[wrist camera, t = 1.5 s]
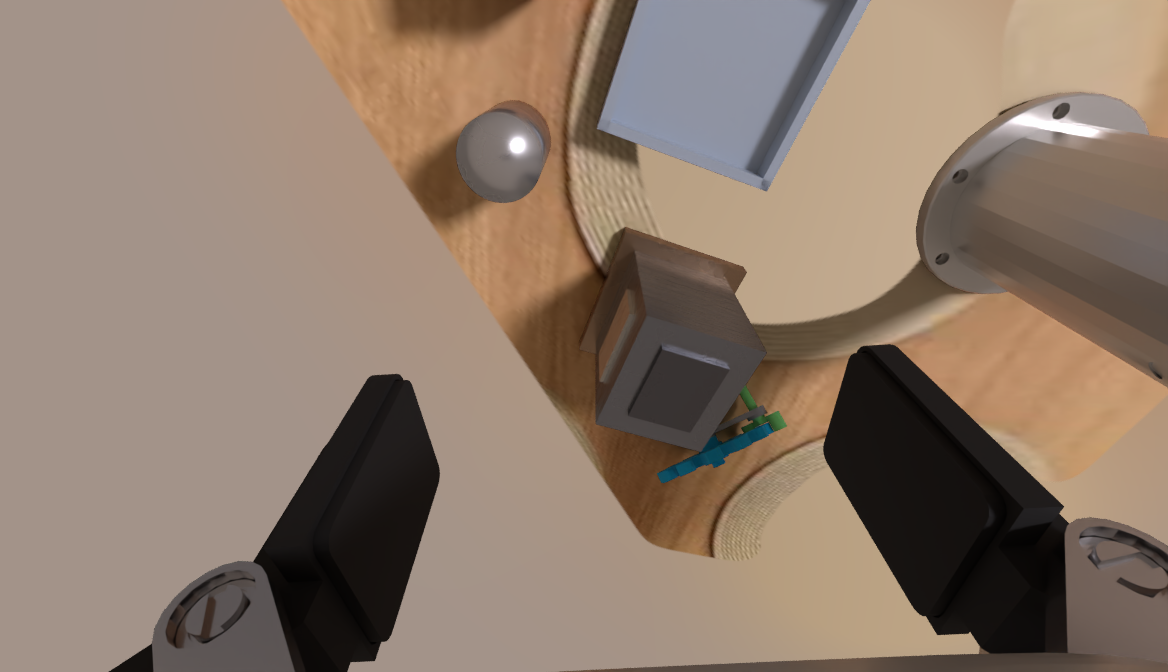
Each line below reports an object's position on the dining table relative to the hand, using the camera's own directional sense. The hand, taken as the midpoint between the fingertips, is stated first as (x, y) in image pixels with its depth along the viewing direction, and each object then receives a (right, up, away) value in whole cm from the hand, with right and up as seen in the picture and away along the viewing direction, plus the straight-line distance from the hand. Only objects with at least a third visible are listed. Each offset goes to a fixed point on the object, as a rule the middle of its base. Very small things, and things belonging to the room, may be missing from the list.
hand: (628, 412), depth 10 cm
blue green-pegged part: (+10, -6, +31) cm, 33 cm away
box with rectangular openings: (+5, +4, +25) cm, 26 cm away
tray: (+7, +17, +16) cm, 25 cm away
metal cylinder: (-5, +14, +19) cm, 24 cm away
